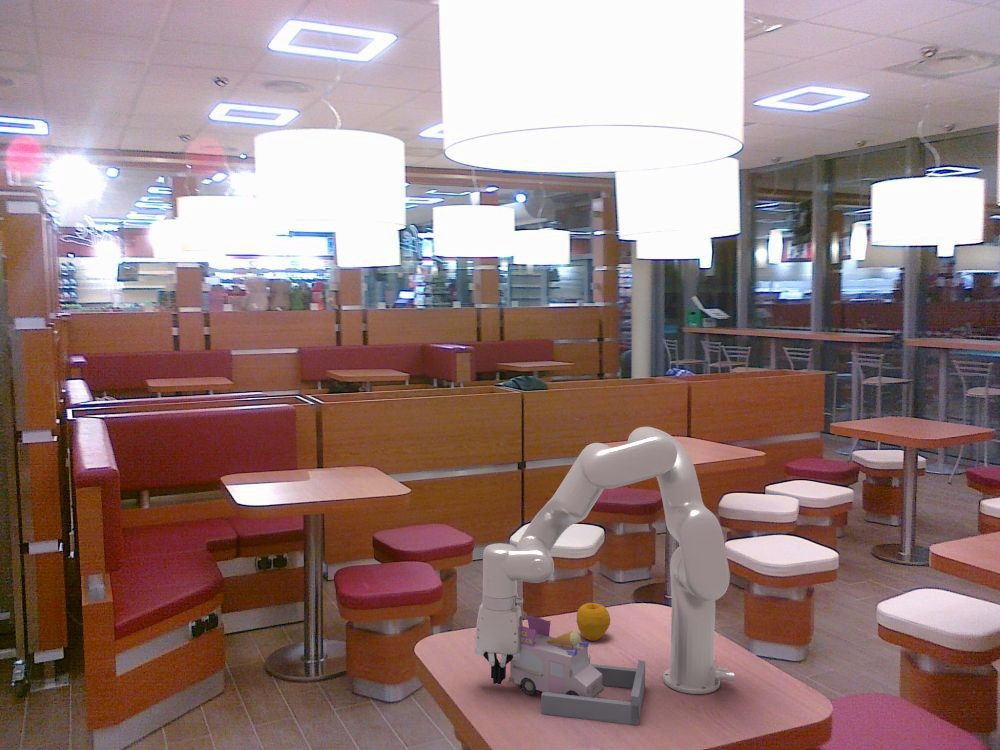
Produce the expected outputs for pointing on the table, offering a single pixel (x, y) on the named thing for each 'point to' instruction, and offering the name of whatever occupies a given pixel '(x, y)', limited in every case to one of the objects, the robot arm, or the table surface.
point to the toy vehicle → (554, 663)
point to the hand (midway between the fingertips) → (498, 681)
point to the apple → (593, 621)
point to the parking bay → (602, 707)
